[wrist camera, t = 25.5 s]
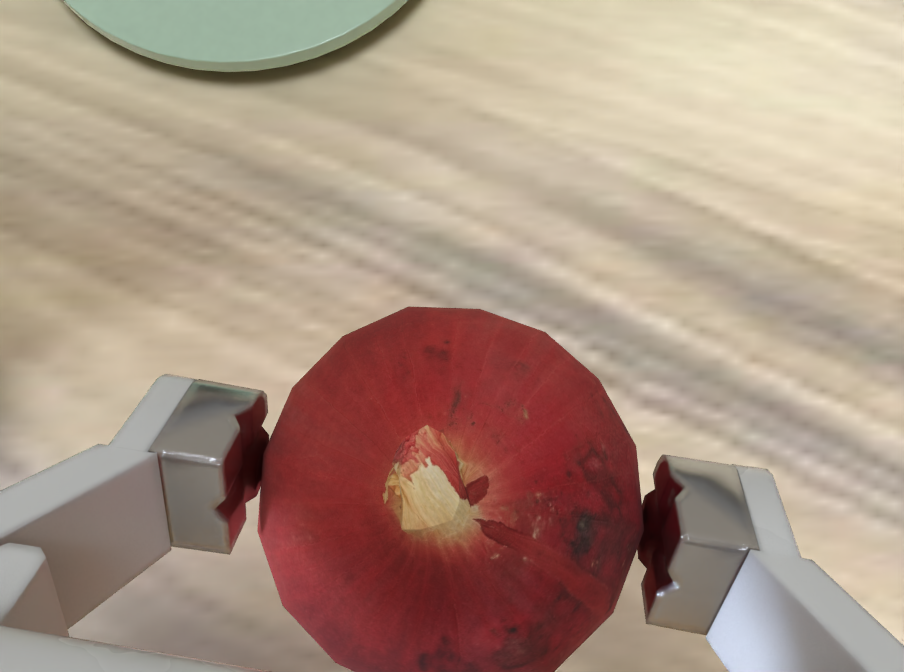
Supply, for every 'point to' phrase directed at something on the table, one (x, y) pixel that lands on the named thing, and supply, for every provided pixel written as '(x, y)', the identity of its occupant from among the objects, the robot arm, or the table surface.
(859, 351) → the table surface
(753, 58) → the table surface
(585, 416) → the onion
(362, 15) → the pot lid
